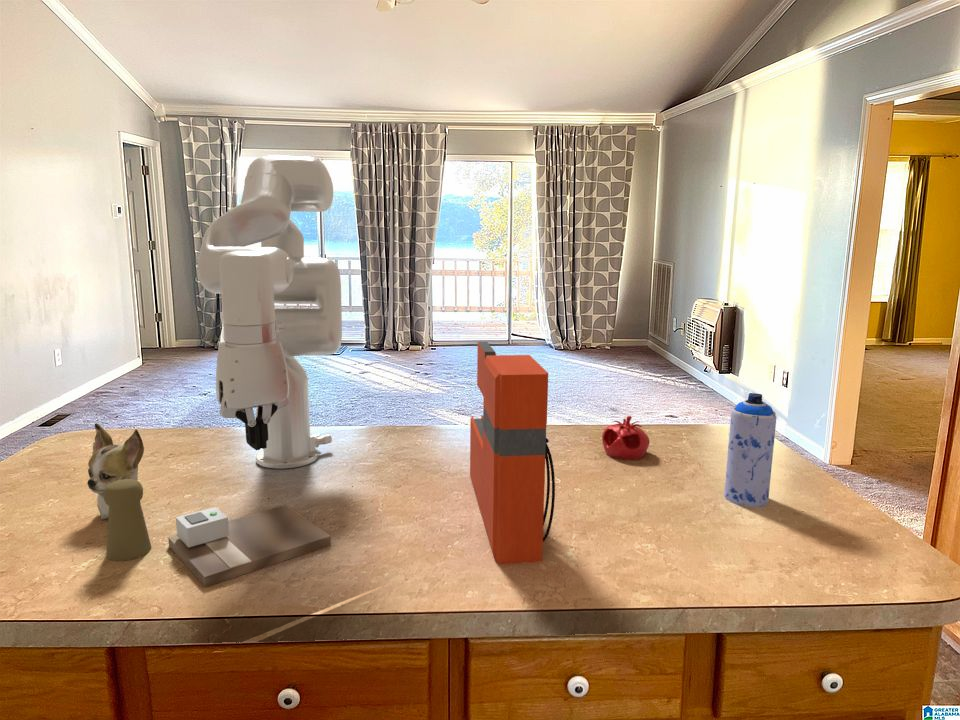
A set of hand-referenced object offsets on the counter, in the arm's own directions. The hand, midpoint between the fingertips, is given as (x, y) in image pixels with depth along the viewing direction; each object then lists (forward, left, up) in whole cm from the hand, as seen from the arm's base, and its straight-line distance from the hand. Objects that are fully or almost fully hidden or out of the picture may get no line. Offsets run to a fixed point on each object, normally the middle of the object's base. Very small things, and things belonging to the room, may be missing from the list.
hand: (257, 446), depth 105 cm
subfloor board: (+4, +5, -14) cm, 15 cm away
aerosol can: (-71, +46, -14) cm, 86 cm away
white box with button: (+10, +1, -12) cm, 15 cm away
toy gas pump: (-34, +21, -14) cm, 43 cm away
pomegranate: (-74, +17, -14) cm, 78 cm away
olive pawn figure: (+19, -5, -14) cm, 24 cm away
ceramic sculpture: (+17, -21, -14) cm, 30 cm away
